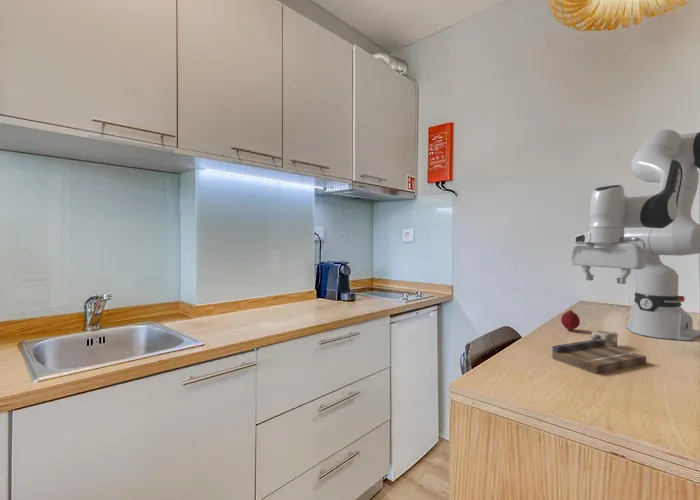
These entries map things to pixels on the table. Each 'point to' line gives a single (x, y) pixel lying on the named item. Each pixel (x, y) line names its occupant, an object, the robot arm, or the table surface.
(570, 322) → the onion
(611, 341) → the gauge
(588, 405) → the table surface
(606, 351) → the board
